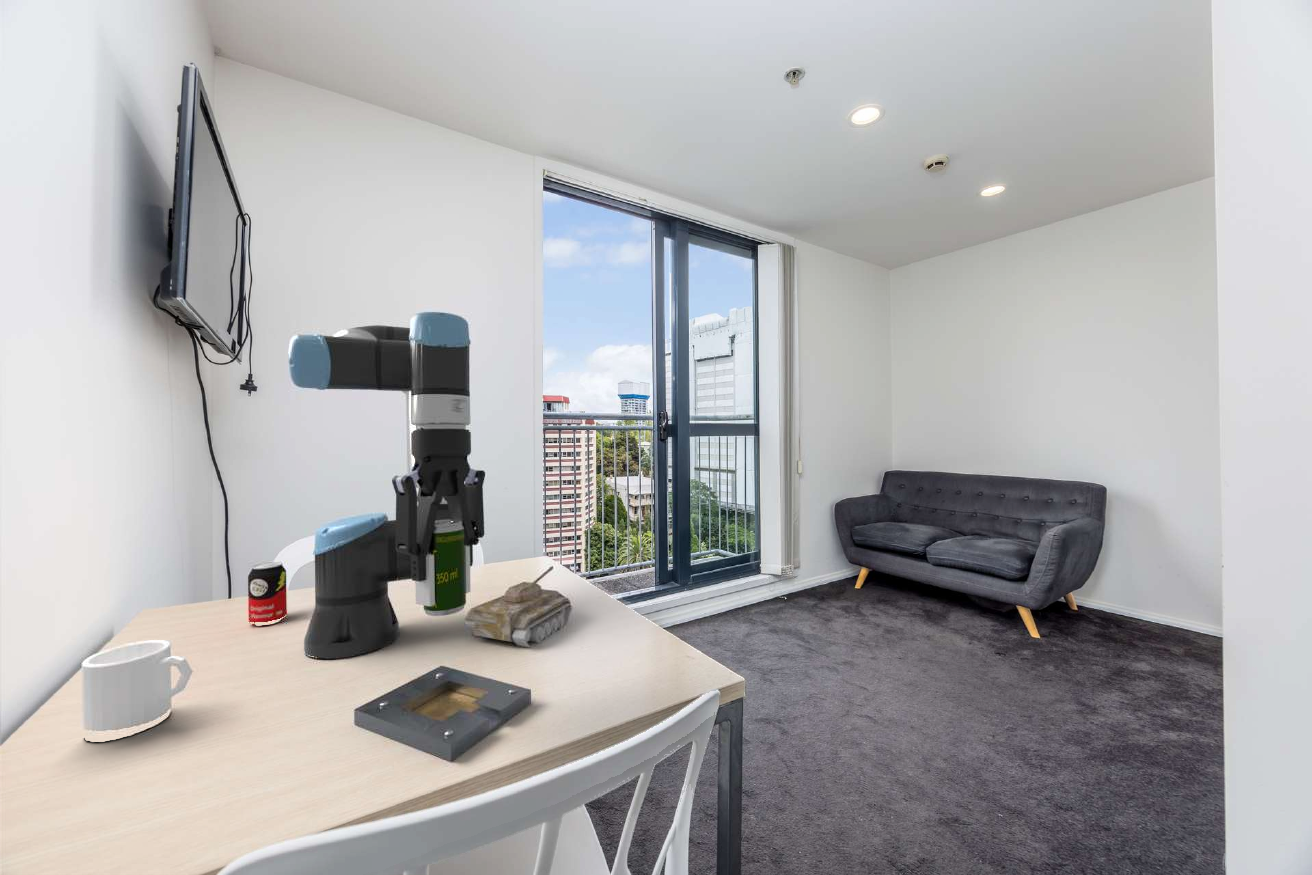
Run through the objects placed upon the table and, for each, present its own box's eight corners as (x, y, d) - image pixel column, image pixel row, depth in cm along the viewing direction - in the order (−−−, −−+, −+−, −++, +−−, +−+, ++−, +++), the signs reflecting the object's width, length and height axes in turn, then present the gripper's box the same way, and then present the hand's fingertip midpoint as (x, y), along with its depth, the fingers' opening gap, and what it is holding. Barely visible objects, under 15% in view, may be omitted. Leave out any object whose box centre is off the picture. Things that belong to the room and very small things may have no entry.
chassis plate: (354, 724, 66) (354, 707, 66) (441, 678, 79) (441, 664, 79) (451, 761, 58) (450, 742, 58) (531, 703, 71) (530, 688, 71)
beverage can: (244, 623, 104) (243, 566, 104) (280, 614, 109) (279, 559, 109) (255, 630, 100) (254, 570, 100) (291, 620, 105) (290, 563, 105)
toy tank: (460, 641, 94) (459, 588, 94) (526, 607, 112) (525, 563, 112) (526, 653, 88) (525, 597, 88) (585, 615, 106) (584, 568, 106)
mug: (164, 740, 63) (163, 662, 63) (63, 745, 62) (61, 666, 62) (216, 706, 71) (215, 637, 71) (127, 710, 71) (126, 640, 70)
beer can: (453, 601, 72) (451, 517, 72) (473, 608, 69) (472, 520, 69) (416, 611, 68) (414, 523, 68) (436, 619, 64) (434, 526, 64)
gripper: (399, 425, 58) (402, 624, 58) (509, 428, 75) (512, 582, 75) (359, 427, 62) (361, 615, 62) (473, 429, 78) (475, 577, 78)
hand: (444, 597), depth 68 cm, fingers closed on beer can, 5 cm apart
